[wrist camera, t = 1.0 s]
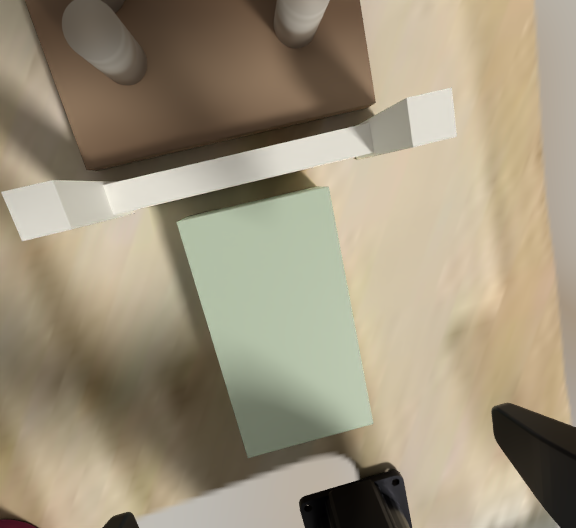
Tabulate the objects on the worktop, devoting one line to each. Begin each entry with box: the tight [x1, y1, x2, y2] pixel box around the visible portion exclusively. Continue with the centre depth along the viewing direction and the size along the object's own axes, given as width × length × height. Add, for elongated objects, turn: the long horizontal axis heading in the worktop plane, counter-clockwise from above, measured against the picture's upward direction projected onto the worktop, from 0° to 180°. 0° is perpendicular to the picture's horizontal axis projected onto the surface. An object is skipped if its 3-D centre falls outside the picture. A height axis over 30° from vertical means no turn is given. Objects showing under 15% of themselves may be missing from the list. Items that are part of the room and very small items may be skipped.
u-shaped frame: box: [1, 88, 457, 241], centre depth 14 cm, size 2×14×6 cm, turn 104°
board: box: [177, 187, 373, 458], centre depth 17 cm, size 12×6×3 cm, turn 13°
